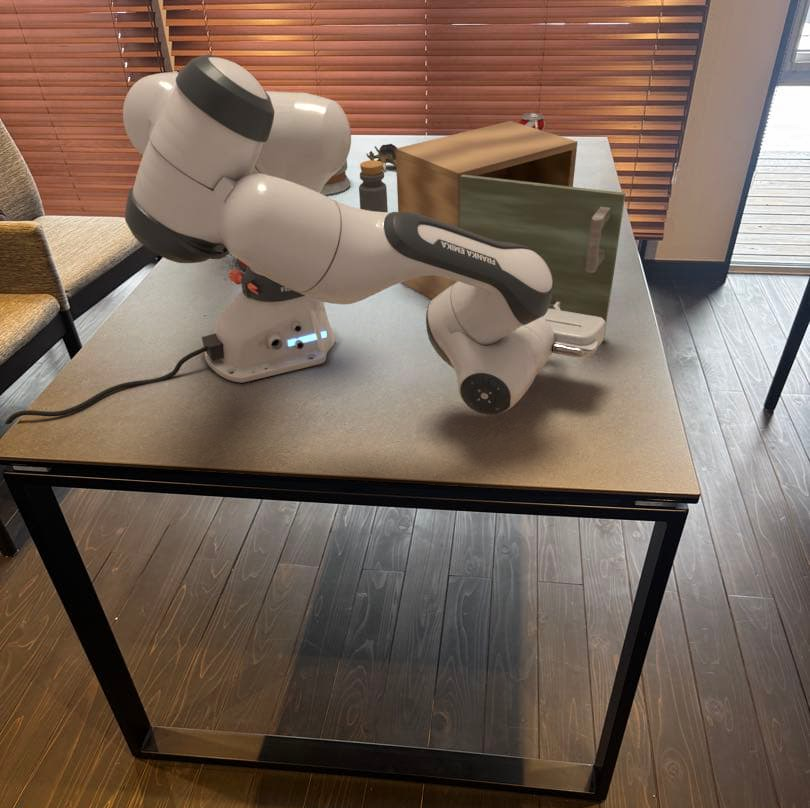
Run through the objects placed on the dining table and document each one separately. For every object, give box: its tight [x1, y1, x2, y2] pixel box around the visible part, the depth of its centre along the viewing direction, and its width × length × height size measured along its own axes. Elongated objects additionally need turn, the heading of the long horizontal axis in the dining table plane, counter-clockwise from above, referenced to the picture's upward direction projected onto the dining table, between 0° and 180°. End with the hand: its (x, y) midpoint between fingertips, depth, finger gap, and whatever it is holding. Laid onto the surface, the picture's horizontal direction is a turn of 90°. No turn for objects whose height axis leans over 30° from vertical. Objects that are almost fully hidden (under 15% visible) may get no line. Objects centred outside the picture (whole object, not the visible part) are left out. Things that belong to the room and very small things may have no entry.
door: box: [460, 175, 627, 343], centre depth 129 cm, size 7×26×24 cm, turn 65°
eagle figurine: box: [365, 143, 398, 173], centre depth 206 cm, size 8×7×9 cm
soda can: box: [518, 112, 547, 132], centre depth 201 cm, size 7×7×12 cm
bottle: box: [358, 159, 389, 212], centre depth 168 cm, size 6×6×15 cm
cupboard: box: [395, 120, 578, 301], centre depth 147 cm, size 18×26×24 cm
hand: (551, 304), depth 126 cm, fingers closed
